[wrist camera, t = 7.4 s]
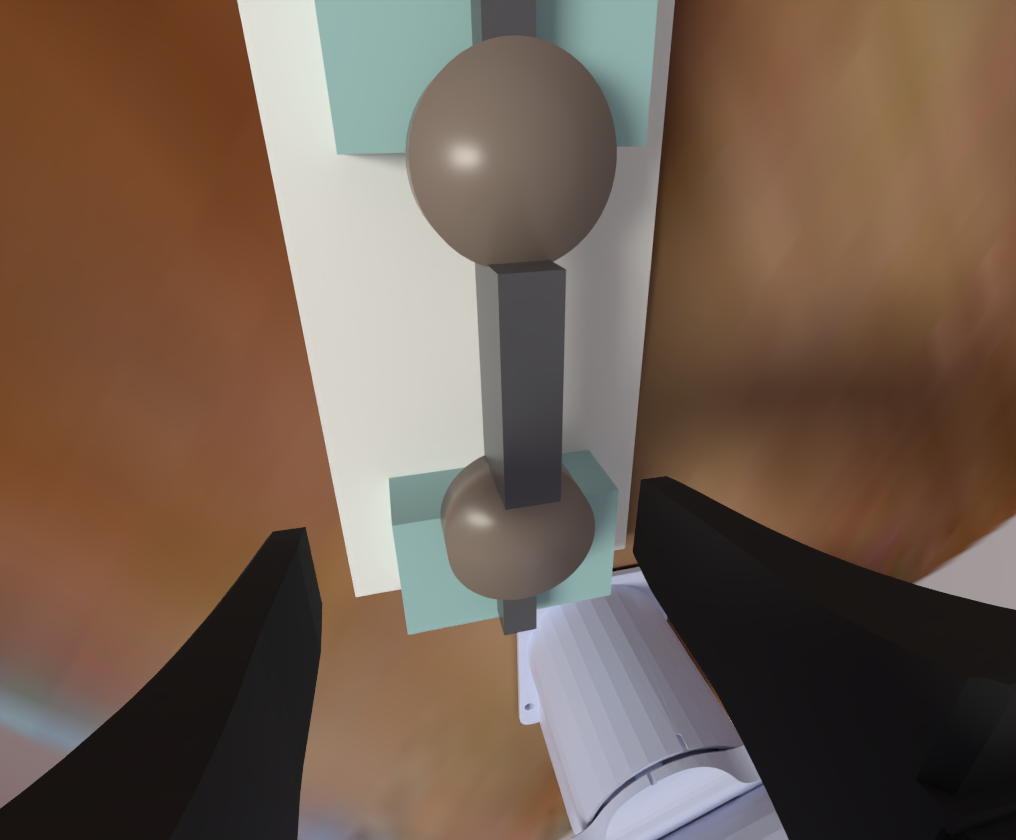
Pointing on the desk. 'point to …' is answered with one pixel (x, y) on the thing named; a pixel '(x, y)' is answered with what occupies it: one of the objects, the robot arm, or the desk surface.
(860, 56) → the desk surface
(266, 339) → the desk surface
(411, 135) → the rod with two spheres
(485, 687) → the desk surface
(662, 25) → the stand
